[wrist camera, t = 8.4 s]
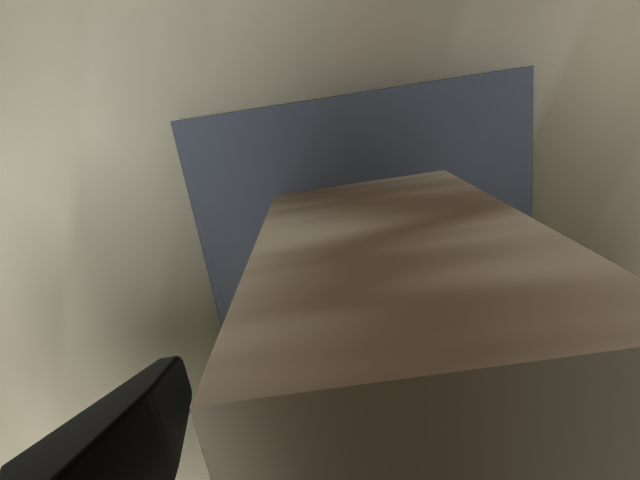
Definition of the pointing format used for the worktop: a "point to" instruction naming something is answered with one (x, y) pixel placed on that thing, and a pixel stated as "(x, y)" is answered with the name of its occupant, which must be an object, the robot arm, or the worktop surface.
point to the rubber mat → (350, 154)
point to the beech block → (422, 344)
